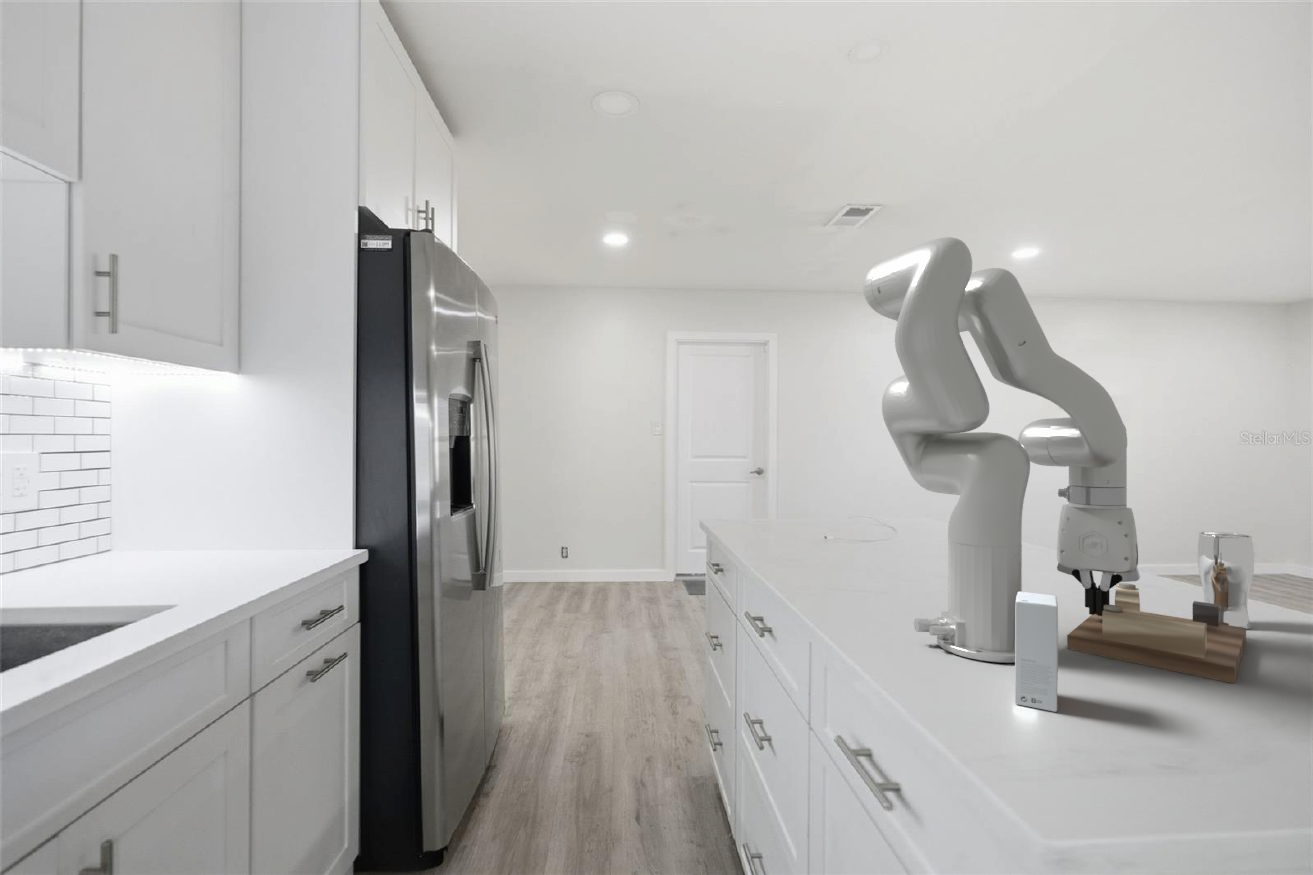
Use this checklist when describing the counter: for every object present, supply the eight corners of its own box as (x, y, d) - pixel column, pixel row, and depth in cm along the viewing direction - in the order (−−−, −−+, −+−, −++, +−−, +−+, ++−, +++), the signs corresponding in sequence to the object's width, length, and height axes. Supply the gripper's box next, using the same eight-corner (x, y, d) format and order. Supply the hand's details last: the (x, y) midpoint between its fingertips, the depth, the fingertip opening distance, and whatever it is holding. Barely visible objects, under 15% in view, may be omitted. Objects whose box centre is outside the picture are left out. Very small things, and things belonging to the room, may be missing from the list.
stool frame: (1234, 683, 78) (1234, 630, 78) (1067, 648, 91) (1067, 603, 91) (1246, 641, 95) (1245, 597, 95) (1103, 617, 108) (1103, 578, 108)
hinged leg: (1115, 609, 104) (1115, 582, 104) (1138, 612, 102) (1138, 584, 102) (1114, 626, 94) (1114, 596, 94) (1139, 630, 92) (1139, 599, 92)
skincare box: (1058, 713, 69) (1058, 606, 69) (1014, 705, 72) (1014, 601, 72) (1057, 695, 74) (1057, 594, 75) (1016, 687, 77) (1016, 590, 77)
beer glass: (1265, 632, 99) (1265, 538, 100) (1215, 629, 101) (1215, 536, 101) (1234, 619, 106) (1234, 532, 106) (1188, 617, 108) (1187, 530, 108)
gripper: (1036, 496, 101) (1036, 609, 101) (1153, 502, 91) (1153, 628, 91) (1048, 493, 106) (1048, 600, 106) (1160, 499, 96) (1160, 618, 96)
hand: (1097, 613), depth 98 cm, fingers closed
